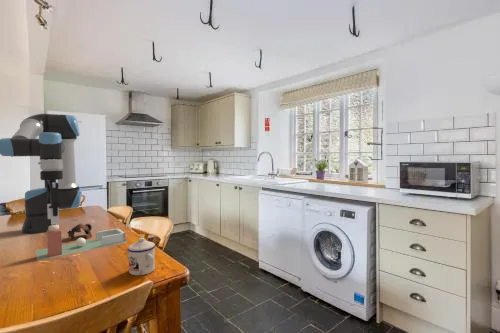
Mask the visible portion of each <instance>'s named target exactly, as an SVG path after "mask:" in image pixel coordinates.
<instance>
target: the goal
mask: <svg viewBox="0 0 500 333" xmlns="http://www.w3.org/2000/svg"><path fill="white" fill-rule="evenodd" d="M95 236H96V238H95V239H96V240H97V241H98V240H102V246H106V245H110V244H115V243H120V242H125V241H127V240H126V232H124V231H123V230H121V229H120V228H111V229H106V230H100V231H96V232H95Z"/></svg>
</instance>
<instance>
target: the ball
mask: <svg viewBox="0 0 500 333" xmlns="http://www.w3.org/2000/svg"><path fill="white" fill-rule="evenodd" d="M86 241H87V240H86V239H85V238H84V237H79V238H77V239H76V240H75V242H74V243H75V244H76V246H78V247H82V246H84V245H85V243H86Z"/></svg>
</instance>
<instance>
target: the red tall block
mask: <svg viewBox="0 0 500 333" xmlns="http://www.w3.org/2000/svg"><path fill="white" fill-rule="evenodd" d="M62 241H63V240H62V229H60V224H56V225H51V226H48V231H46V245H47V246H46V248H47V250H48V257H52V256H57V255H62V245H63V244H62Z"/></svg>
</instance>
